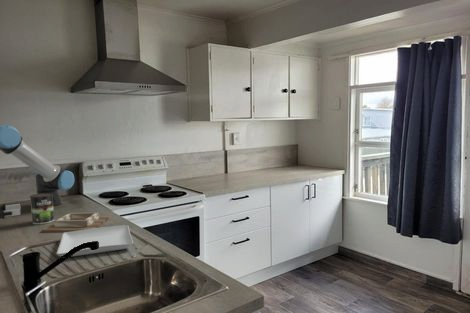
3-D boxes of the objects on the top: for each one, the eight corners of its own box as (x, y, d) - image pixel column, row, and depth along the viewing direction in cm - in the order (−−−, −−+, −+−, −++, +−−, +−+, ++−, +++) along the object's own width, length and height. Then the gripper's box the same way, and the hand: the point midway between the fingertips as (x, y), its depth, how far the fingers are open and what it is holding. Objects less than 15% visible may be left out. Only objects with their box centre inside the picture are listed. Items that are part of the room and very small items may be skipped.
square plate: (63, 240, 156) (62, 231, 155) (128, 232, 165) (128, 223, 165) (56, 262, 130) (55, 252, 130) (134, 251, 140) (133, 241, 140)
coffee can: (57, 221, 185) (55, 194, 184) (34, 225, 178) (32, 197, 177) (51, 217, 193) (49, 192, 191) (30, 221, 186) (27, 195, 185)
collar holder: (65, 218, 191) (64, 211, 190) (110, 217, 191) (110, 210, 190) (41, 232, 167) (40, 224, 166) (93, 231, 167) (92, 222, 166)
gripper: (-28, 217, 180) (21, 211, 191) (-36, 229, 159) (20, 222, 170) (-30, 202, 180) (20, 197, 190) (-37, 213, 158) (19, 206, 169)
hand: (20, 209), depth 180 cm, fingers open, 13 cm apart
